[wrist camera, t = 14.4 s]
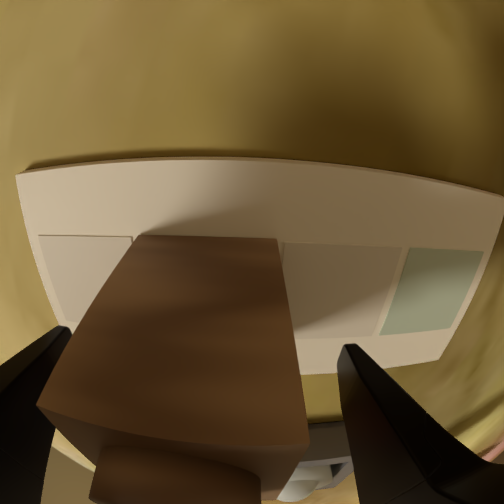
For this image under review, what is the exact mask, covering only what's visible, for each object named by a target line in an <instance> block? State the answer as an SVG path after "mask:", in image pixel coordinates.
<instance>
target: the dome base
mask: <svg viewBox="0 0 504 504" xmlns="http://www.w3.org/2000/svg"><path fill="white" fill-rule="evenodd" d="M308 431H309V438H310V445H309V447H308V448H307V450H306V452H305V454H304V456H303V457H302V459H301V461H300V462H299V464H298V466H297V467H296V468H302V467H313V466H322V465H331V471H332V478H333V481H332V482H331V483H330V484H328V485H326V486H324V487H322V488H319V489H326V488H333V487H336V486H337V485H338V484H339V483H340V482H341V481H343V480H344V479H345V478H346V477H347V476H348V475H349V474H351V473H352V472H353V471H354V469H353V463H352V458H351V453H350V448H349V443H348V438H347V433H346V429H345V424H344V421H339V422H330V423H319V424H308ZM319 489H315V490H319Z"/></svg>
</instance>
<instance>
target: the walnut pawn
mask: <svg viewBox="0 0 504 504" xmlns="http://www.w3.org/2000/svg"><path fill="white" fill-rule="evenodd" d="M36 406H37V407H38V408H39V409H40V410H41V412H42V413H43V414H44V415H45V416H46V417H47V418H48V420H49V421H50V422H51V423H52V424H53V425H54V426H55V427H56V428H57V429H58V430H59V431H60V433H61V434H62V435H63V436H64V437H65V438H66V439H67V440H68V441H69V442H70V443H71V444H72V445H73V446H74V447H75V448H77V449H78V450H79V451H80V452H81V453H82V454H83V455H84V456H85V457H86V458H87V459H88V460H90V461H91V462H92V463H93V464H94V465H95V466H96V469H95V473H94V477H93V481H92V485H91V490H90V494H89V499H90V500H92V501H93V502H95V503H97V504H261V500H276V499H277V498H278V496H279V495H280V493H281V492H282V490H283V488H284V487H285V485H286V484H287V482H288V481H289V479H290V477H291V476H292V474H293V472H294V471H295V469H296V467H297V466H298V464H299V462H300V461H301V459H302V457H303V456H304V454H305V452H306V450H307V448H308V447H309V445H310V438H309V431H308V423H307V416H306V409H305V403H304V396H303V389H302V382H301V376H300V369H299V363H298V357H297V351H296V344H295V338H294V332H293V326H292V320H291V314H290V309H289V303H288V297H287V291H286V286H285V280H284V274H283V269H282V263H281V258H280V253H279V247H278V242H277V239H273V238H244V237H212V236H175V235H138V236H137V238H136V239H135V240H134V242H133V243H132V244H131V246H130V247H129V249H128V250H127V251H126V253H125V254H124V256H123V257H122V258H121V260H120V261H119V263H118V264H117V266H116V267H115V268H114V270H113V271H112V273H111V274H110V276H109V277H108V279H107V280H106V282H105V283H104V285H103V286H102V288H101V289H100V291H99V292H98V294H97V295H96V297H95V299H94V300H93V302H92V303H91V305H90V307H89V308H88V310H87V311H86V313H85V315H84V316H83V318H82V320H81V321H80V323H79V325H78V326H77V328H76V330H75V331H74V333H73V335H72V336H71V338H70V340H69V342H68V343H67V345H66V347H65V349H64V351H63V352H62V354H61V356H60V358H59V360H58V362H57V363H56V365H55V367H54V369H53V371H52V373H51V375H50V377H49V379H48V381H47V383H46V385H45V387H44V389H43V391H42V393H41V395H40V397H39V399H38V401H37V404H36Z"/></svg>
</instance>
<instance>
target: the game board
mask: <svg viewBox="0 0 504 504" xmlns="http://www.w3.org/2000/svg"><path fill="white" fill-rule="evenodd" d="M16 182H17V187H18V193H19V198H20V203H21V208H22V213H23V217H24V222H25V226H26V230H27V234H28V237H29V241H30V245H31V248H32V252H33V255H34V258H35V261H36V265H37V268H38V271H39V274H40V277H41V279H42V282H43V285H44V288H45V291H46V293H47V296H48V298H49V301H50V304H51V306H52V309H53V311H54V313H55V316H56V318H57V320H58V323H59V325H62V326H67V327H69V328H70V330H71V332H72V335H73V333H74V331H75V330H76V328H77V326H78V325H79V323H80V321H81V320H82V318H83V316H84V315H85V313H86V311H87V310H88V308H89V307H90V305H91V303H92V302H93V300H94V299H95V297H96V295H97V294H98V292H99V291H100V289H101V288H102V286H103V285H104V283H105V282H106V280H107V279H108V277H109V276H110V274H111V273H112V271H113V270H114V268H115V267H116V266H117V264H118V263H119V261H120V260H121V258H122V257H123V256H124V254H125V253H126V251H127V250H128V249H129V247H130V246H131V244H132V243H133V242H134V240H135V239H136V238H137V236H138V235H175V236H212V237H244V238H273V239H277V242H278V247H279V253H280V258H281V263H282V269H283V274H284V280H285V286H286V291H287V297H288V303H289V309H290V314H291V320H292V326H293V332H294V338H295V344H296V351H297V357H298V363H299V369H300V375H305V374H326V373H337V360H338V358H339V355H340V352H341V349H342V347H343V345H344V344H351V343H356V344H358V345H359V346H360V347H361V348H362V349H363V350H364V351H365V352H366V353H367V354H368V355H369V356H370V357H371V358H372V359H373V360H374V361H375V362H376V363H377V364H378V365H379V366H380V367H381V368H390V367H397V366H404V365H411V364H417V363H423V362H429V361H434V360H438V359H439V358H440V356H441V355H442V353H443V351H444V350H445V348H446V346H447V345H448V343H449V341H450V340H451V338H452V336H453V334H454V333H455V331H456V329H457V327H458V325H459V323H460V321H461V320H462V318H463V316H464V314H465V312H466V310H467V308H468V306H469V304H470V302H471V300H472V297H473V295H474V293H475V291H476V289H477V287H478V284H479V282H480V280H481V277H482V275H483V273H484V270H485V268H486V265H487V263H488V260H489V258H490V255H491V252H492V249H493V247H494V244H495V241H496V238H497V235H498V232H499V229H500V226H501V223H502V219H503V216H504V197H503V196H501V195H499V194H495V193H491V192H488V191H484V190H480V189H476V188H472V187H468V186H464V185H459V184H455V183H451V182H446V181H441V180H436V179H431V178H426V177H421V176H416V175H410V174H404V173H399V172H392V171H386V170H380V169H373V168H365V167H358V166H350V165H341V164H332V163H323V162H312V161H300V160H287V159H271V158H250V157H154V158H134V159H118V160H105V161H94V162H84V163H75V164H67V165H59V166H51V167H44V168H38V169H31V170H25V171H22V172H20V173H18V174H16Z"/></svg>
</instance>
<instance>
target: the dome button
mask: <svg viewBox="0 0 504 504" xmlns="http://www.w3.org/2000/svg"><path fill="white" fill-rule="evenodd" d="M332 481H333V478H332V471H331V465H322V466H313V467H302V468H296V469H295V471H294V472H293V474H292V476H291V477H290V479H289V481H288V482H287V484H286V485H285V487H284V488H283V490H282V492H281V493H280V495H279V496H278V498H277V499H278V500H280V501H284V502H295V501H299V500H302V499H304V498H306V497H308V496H309V495H310V494H311V493H312V492H313V491H314V490H315V489H319V488H322V487H324V486H326V485H328V484H330V483H331V482H332Z"/></svg>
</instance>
